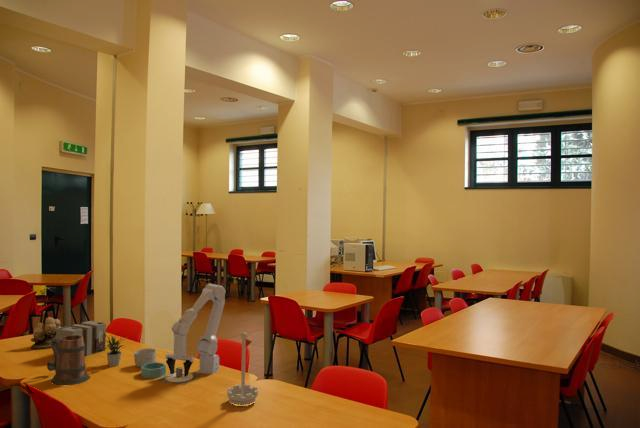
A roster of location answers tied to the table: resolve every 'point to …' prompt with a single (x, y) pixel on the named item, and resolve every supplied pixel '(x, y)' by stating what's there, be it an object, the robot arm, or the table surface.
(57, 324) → the beige lumpy cluster
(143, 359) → the teacup
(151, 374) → the bowl
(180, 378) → the lid
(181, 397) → the table surface
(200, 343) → the robot arm
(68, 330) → the bookend
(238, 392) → the flag stand
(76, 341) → the tankard
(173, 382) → the mat
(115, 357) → the house plant
